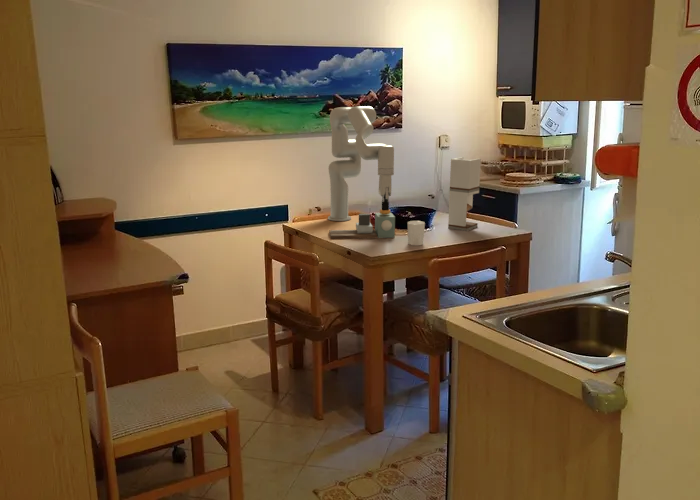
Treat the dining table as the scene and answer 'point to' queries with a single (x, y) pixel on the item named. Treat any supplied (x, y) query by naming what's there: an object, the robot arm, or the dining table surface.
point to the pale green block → (385, 225)
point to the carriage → (364, 224)
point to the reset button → (384, 211)
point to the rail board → (350, 234)
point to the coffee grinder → (463, 191)
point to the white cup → (416, 232)
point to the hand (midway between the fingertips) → (385, 209)
